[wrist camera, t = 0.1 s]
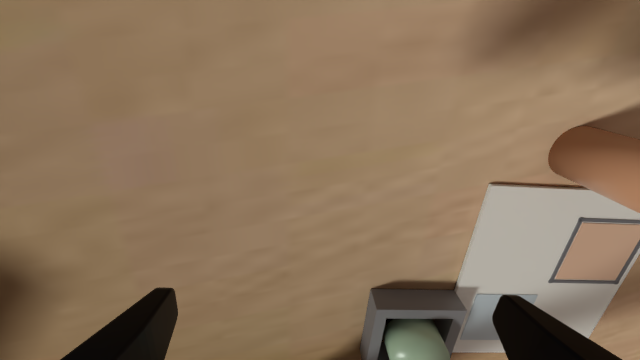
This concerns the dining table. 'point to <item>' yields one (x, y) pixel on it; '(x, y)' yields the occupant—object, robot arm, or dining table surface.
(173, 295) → the robot arm
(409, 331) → the button
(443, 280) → the dining table surface
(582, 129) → the brown tall rounded cylinder
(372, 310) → the button housing
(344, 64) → the dining table surface
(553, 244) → the colouring sheet
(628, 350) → the dining table surface
